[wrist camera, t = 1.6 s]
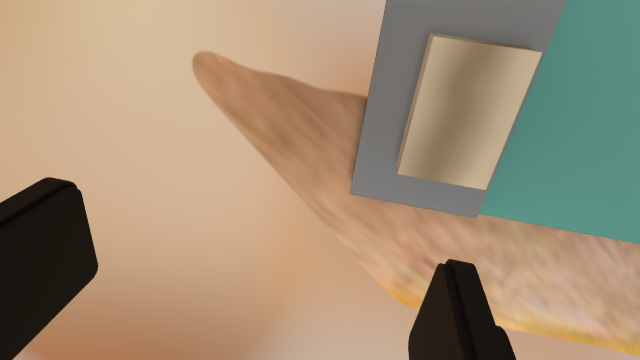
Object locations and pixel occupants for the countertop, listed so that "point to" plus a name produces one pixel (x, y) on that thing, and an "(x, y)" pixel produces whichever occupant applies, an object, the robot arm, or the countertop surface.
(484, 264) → the countertop surface
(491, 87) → the tile
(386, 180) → the board
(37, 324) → the robot arm
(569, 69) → the mat
